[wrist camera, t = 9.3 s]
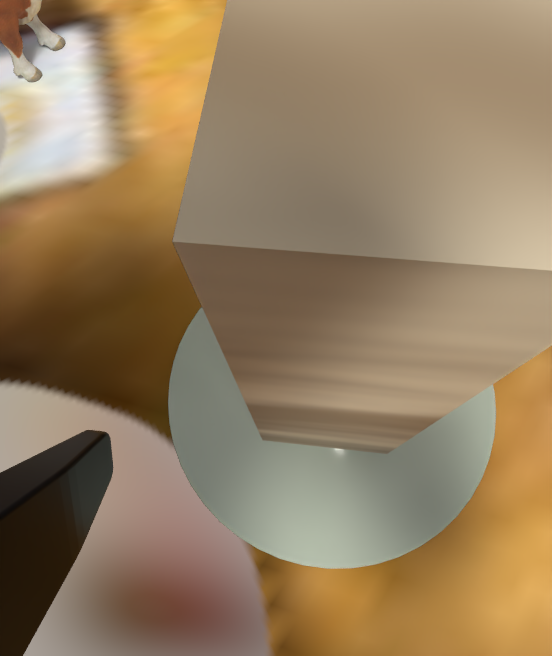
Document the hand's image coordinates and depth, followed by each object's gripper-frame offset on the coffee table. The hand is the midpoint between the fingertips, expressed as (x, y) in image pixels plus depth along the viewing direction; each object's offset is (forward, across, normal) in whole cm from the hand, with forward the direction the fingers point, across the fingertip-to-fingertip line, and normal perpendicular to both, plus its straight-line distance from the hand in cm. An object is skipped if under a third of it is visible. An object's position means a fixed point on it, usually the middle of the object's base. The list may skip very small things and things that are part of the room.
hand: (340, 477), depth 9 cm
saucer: (+9, 0, +4) cm, 10 cm away
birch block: (+8, 0, +3) cm, 9 cm away
